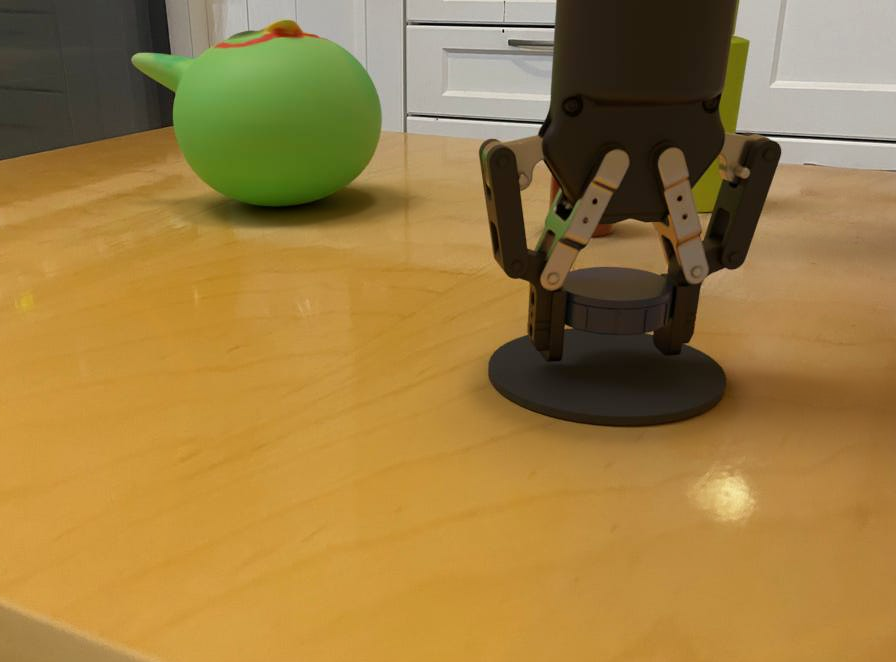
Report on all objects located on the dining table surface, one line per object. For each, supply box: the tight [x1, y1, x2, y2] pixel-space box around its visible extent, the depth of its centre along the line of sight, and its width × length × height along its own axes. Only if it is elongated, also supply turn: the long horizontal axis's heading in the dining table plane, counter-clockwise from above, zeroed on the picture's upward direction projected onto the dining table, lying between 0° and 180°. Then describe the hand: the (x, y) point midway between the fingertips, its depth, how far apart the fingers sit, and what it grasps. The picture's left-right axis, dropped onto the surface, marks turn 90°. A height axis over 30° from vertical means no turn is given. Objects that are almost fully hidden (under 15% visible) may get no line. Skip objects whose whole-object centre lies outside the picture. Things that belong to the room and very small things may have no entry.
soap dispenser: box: [692, 0, 751, 213], centre depth 78 cm, size 6×7×20 cm
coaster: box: [487, 327, 727, 427], centre depth 48 cm, size 12×12×1 cm
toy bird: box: [131, 18, 383, 207], centre depth 80 cm, size 18×17×15 cm
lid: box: [562, 266, 674, 335], centre depth 47 cm, size 6×6×2 cm
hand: (608, 352), depth 48 cm, fingers closed on lid, 5 cm apart
